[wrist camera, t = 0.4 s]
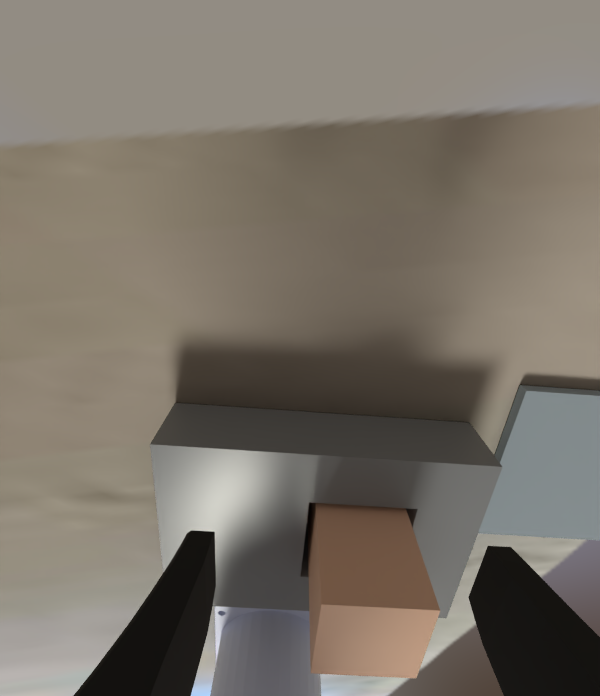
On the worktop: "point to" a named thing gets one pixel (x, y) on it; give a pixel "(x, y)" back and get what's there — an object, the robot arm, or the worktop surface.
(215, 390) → the worktop surface
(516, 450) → the mat
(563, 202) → the worktop surface
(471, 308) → the worktop surface
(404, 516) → the plug
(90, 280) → the worktop surface
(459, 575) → the plate
